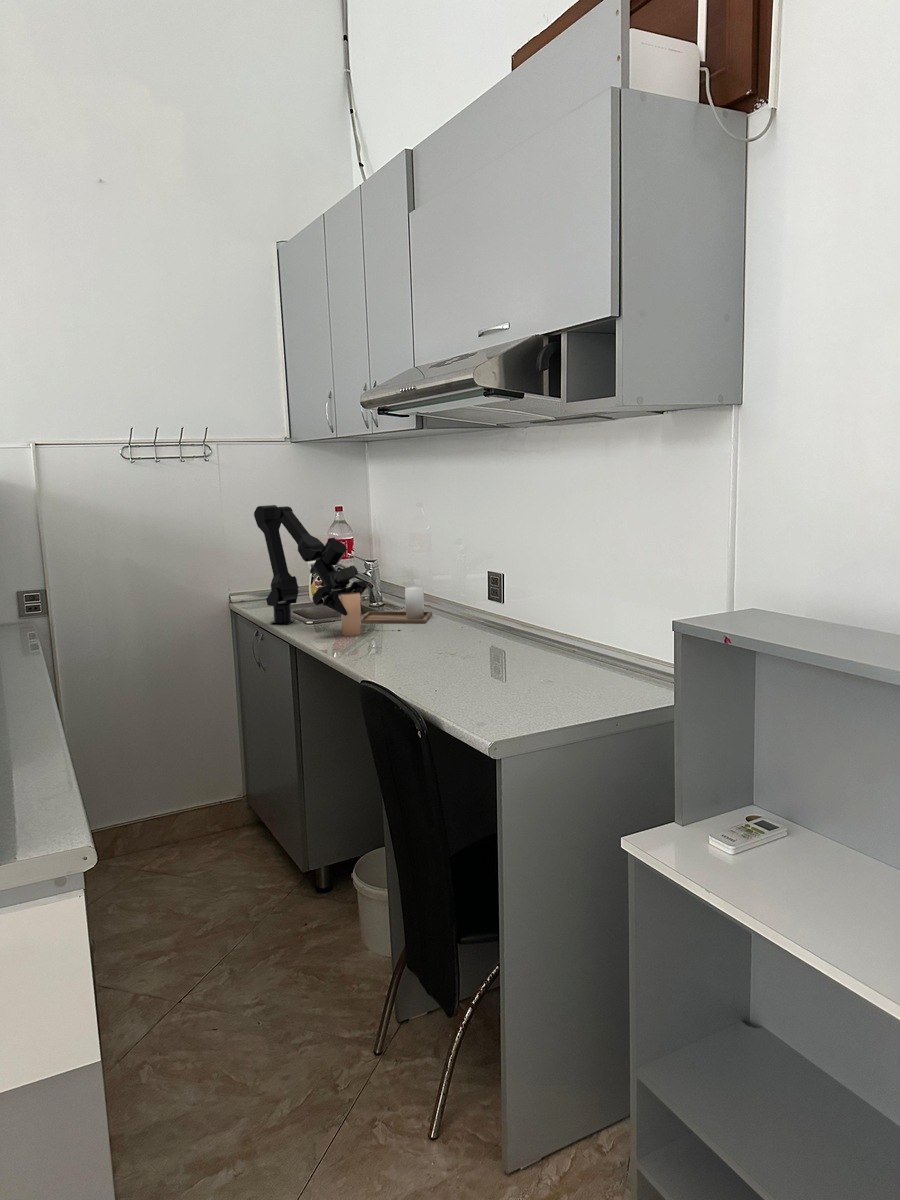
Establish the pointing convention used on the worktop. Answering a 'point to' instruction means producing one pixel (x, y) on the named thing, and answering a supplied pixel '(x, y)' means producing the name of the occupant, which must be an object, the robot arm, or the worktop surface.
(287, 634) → the worktop surface
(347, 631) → the peach tapered cylinder
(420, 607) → the white rounded cylinder
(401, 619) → the walnut tray
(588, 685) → the worktop surface
